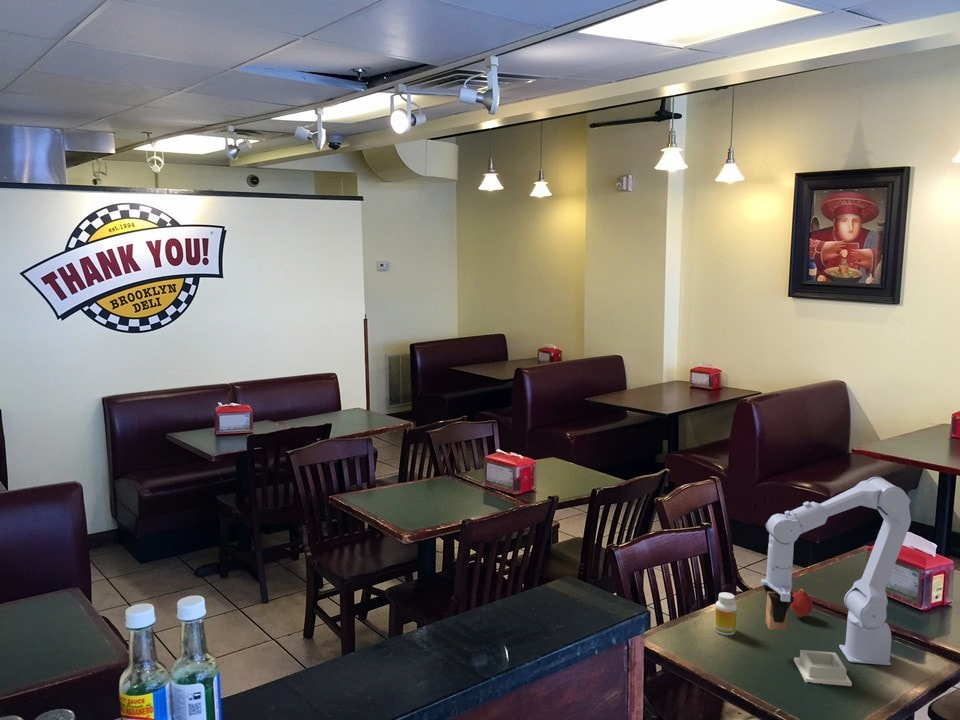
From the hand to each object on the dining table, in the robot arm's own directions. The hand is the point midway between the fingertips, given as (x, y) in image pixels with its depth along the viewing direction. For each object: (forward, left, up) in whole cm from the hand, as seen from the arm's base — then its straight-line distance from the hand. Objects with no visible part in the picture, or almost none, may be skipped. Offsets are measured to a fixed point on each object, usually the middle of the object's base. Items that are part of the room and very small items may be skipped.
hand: (776, 617), depth 189 cm
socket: (-9, +8, -9) cm, 15 cm away
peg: (0, 0, -2) cm, 2 cm away
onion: (-12, -22, -9) cm, 27 cm away
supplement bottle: (+10, -10, -9) cm, 17 cm away
